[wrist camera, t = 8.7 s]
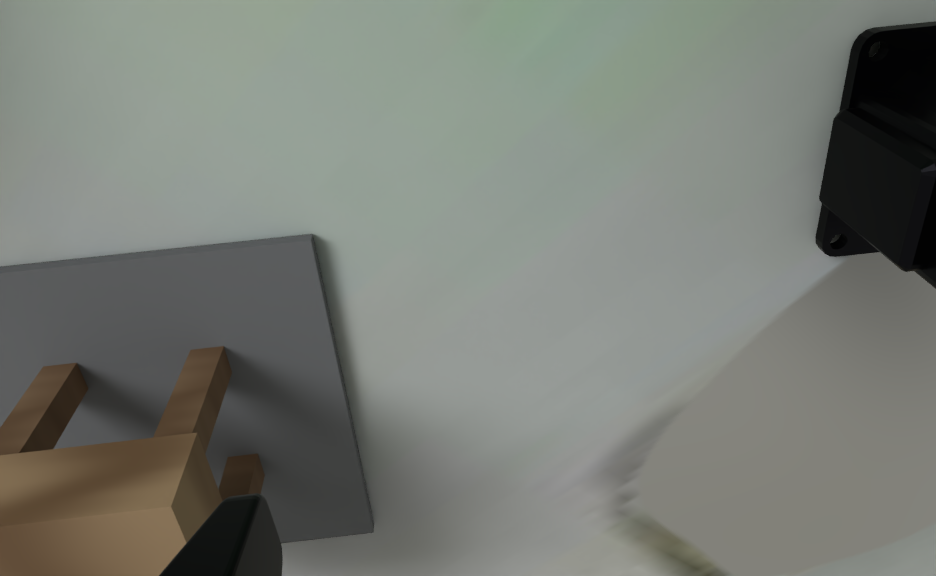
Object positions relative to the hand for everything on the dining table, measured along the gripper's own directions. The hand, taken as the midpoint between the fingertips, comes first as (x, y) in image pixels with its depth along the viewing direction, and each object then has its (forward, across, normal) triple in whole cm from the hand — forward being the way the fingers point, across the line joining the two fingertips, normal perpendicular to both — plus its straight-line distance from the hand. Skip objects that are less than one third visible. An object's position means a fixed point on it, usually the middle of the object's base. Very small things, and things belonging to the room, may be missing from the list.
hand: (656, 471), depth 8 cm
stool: (+12, +12, +8) cm, 19 cm away
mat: (+13, +12, +8) cm, 20 cm away
